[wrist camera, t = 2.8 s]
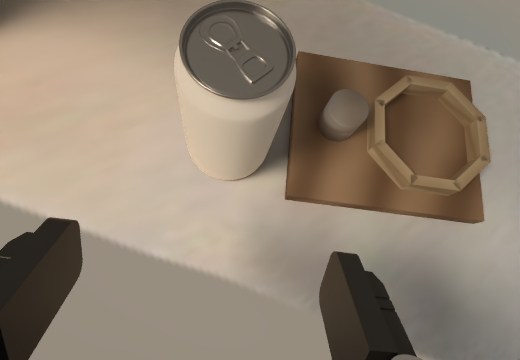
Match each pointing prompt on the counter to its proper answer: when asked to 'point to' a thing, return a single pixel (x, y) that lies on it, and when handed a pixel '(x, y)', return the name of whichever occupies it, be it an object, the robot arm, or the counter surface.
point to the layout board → (385, 140)
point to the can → (233, 85)
